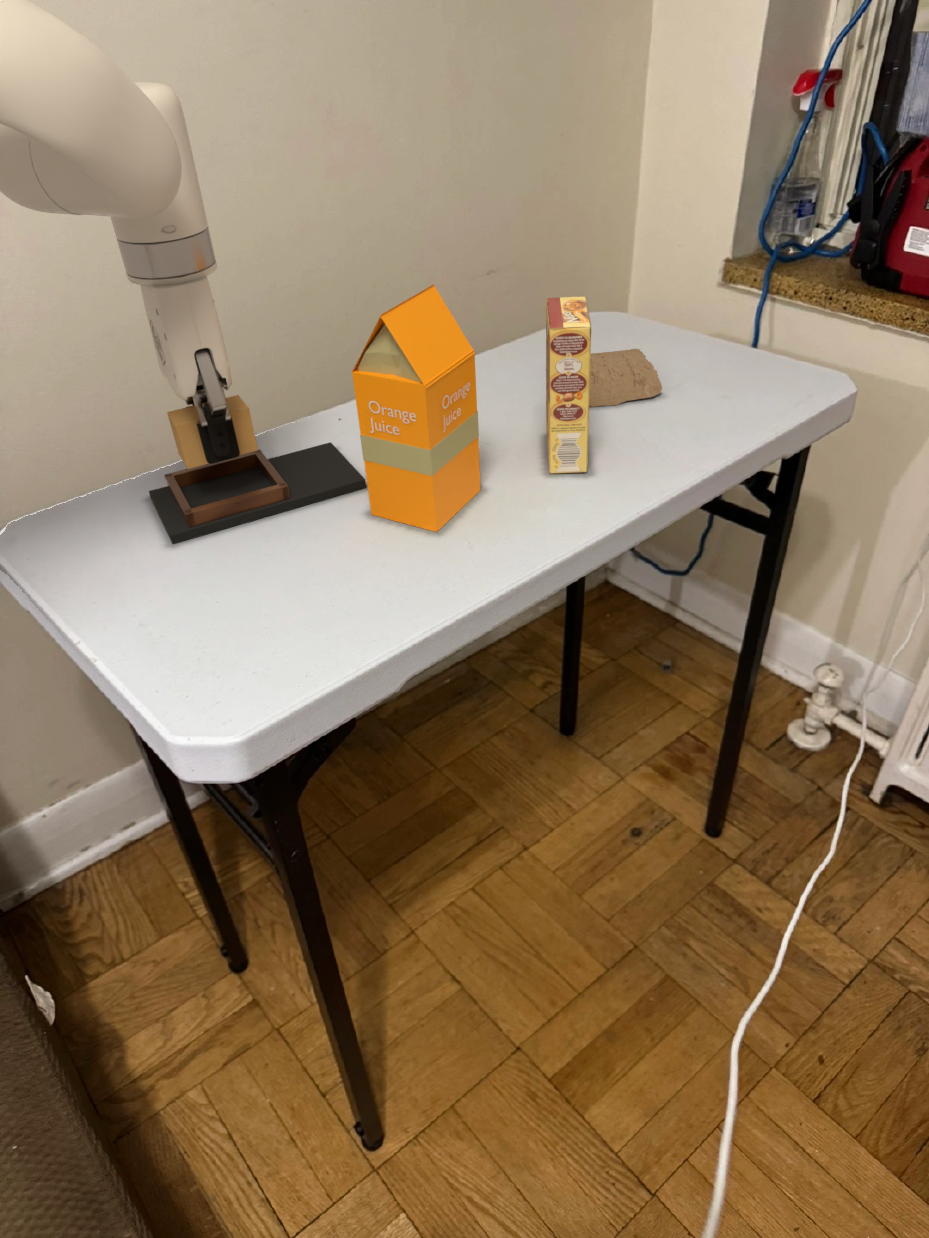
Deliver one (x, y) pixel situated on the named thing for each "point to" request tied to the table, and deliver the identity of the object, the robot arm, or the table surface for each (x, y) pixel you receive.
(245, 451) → the brown block
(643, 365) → the clay tablet
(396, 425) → the orange juice
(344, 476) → the back pad
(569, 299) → the candy box
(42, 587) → the table surface
